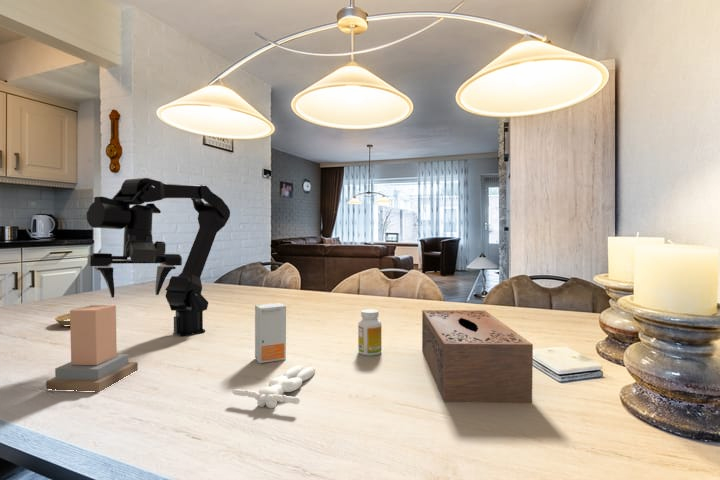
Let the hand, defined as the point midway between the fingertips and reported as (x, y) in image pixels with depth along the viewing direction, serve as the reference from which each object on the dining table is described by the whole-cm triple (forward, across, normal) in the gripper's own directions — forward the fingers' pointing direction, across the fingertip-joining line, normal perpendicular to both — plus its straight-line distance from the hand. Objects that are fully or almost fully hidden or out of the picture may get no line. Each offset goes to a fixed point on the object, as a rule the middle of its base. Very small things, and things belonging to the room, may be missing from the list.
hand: (135, 296), depth 89 cm
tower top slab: (+12, -9, -15) cm, 22 cm away
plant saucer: (+12, -5, +41) cm, 43 cm away
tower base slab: (+14, -9, -15) cm, 23 cm away
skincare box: (+13, +21, -27) cm, 37 cm away
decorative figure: (+14, +16, -43) cm, 48 cm away
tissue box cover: (+12, +47, -60) cm, 77 cm away
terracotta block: (+10, -9, -15) cm, 21 cm away
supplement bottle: (+12, +41, -38) cm, 57 cm away
